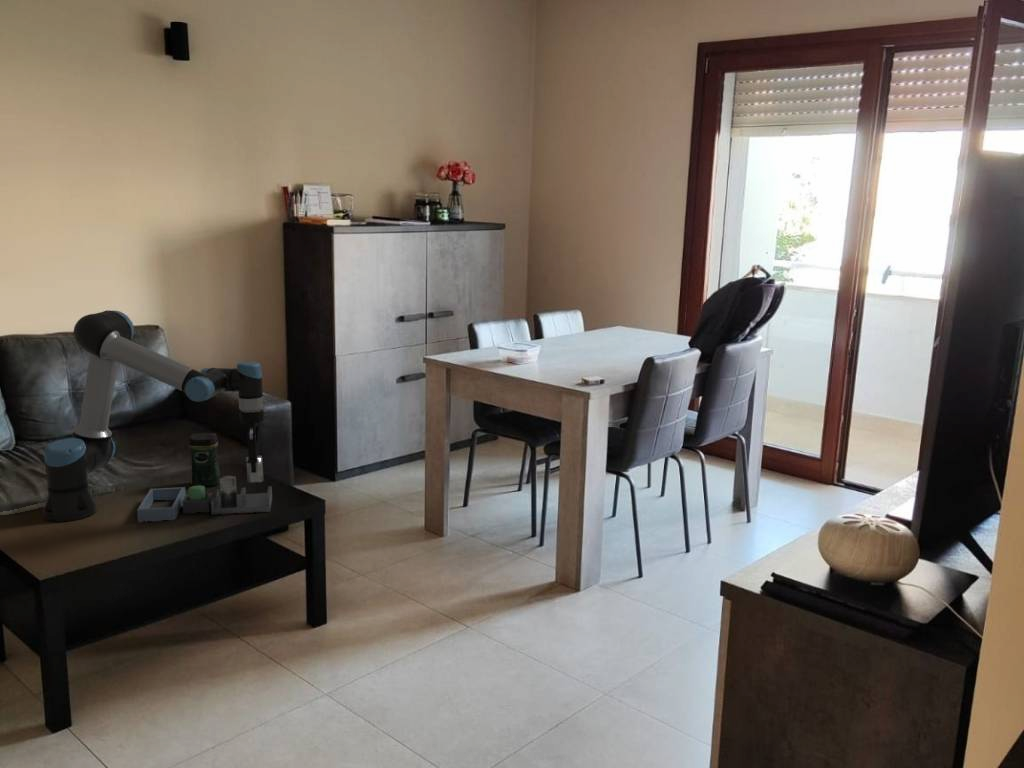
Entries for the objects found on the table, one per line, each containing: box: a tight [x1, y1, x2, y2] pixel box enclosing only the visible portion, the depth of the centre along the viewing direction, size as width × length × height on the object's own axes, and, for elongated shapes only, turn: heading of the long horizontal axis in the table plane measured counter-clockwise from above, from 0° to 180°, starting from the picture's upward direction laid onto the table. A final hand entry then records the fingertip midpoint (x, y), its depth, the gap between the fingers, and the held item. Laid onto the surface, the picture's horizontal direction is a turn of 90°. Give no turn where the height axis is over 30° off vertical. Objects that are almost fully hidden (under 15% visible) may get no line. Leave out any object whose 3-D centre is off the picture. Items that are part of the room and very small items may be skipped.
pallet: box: [210, 485, 273, 516], centre depth 290 cm, size 18×14×4 cm
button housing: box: [182, 492, 213, 514], centre depth 287 cm, size 8×8×4 cm
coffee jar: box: [188, 432, 221, 487], centre depth 312 cm, size 10×8×19 cm
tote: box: [136, 486, 187, 523], centre depth 286 cm, size 11×22×4 cm, turn 12°
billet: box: [245, 455, 264, 484], centre depth 289 cm, size 5×5×8 cm
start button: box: [188, 485, 206, 500], centre depth 287 cm, size 5×5×6 cm
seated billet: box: [219, 475, 238, 504], centre depth 288 cm, size 5×5×8 cm
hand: (255, 478), depth 289 cm, fingers closed on billet, 5 cm apart
